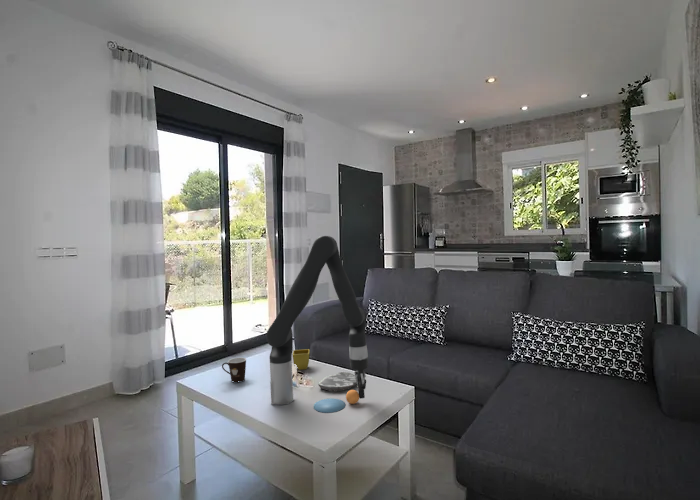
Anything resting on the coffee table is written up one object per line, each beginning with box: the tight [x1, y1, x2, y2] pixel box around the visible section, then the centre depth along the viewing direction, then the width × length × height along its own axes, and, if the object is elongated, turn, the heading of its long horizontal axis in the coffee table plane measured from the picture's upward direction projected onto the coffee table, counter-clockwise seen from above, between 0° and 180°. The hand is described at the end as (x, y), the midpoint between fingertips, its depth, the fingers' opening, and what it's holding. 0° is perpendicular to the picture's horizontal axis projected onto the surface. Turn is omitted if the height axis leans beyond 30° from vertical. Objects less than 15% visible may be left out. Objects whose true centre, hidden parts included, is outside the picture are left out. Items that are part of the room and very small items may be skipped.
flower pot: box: [292, 348, 310, 371], centre depth 203 cm, size 9×9×9 cm
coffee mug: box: [221, 357, 247, 383], centre depth 190 cm, size 12×9×10 cm
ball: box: [345, 389, 360, 405], centre depth 157 cm, size 6×6×6 cm
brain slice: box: [318, 371, 357, 393], centre depth 177 cm, size 20×17×3 cm
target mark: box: [313, 397, 346, 414], centre depth 155 cm, size 13×13×1 cm
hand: (361, 397), depth 157 cm, fingers closed
